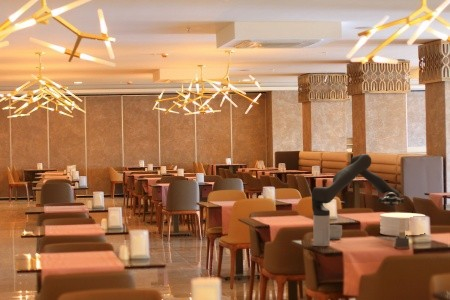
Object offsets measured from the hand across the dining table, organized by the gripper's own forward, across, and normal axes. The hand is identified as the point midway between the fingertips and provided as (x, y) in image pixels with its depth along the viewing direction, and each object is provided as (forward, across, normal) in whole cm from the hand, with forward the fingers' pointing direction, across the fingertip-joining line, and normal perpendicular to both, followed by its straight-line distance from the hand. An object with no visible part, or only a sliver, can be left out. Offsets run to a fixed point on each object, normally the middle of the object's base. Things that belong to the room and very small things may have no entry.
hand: (391, 201), depth 522 cm
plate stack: (-50, +8, +24) cm, 56 cm away
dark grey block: (+13, +6, +25) cm, 29 cm away
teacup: (-17, -33, +25) cm, 45 cm away
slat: (+13, +6, +23) cm, 28 cm away
